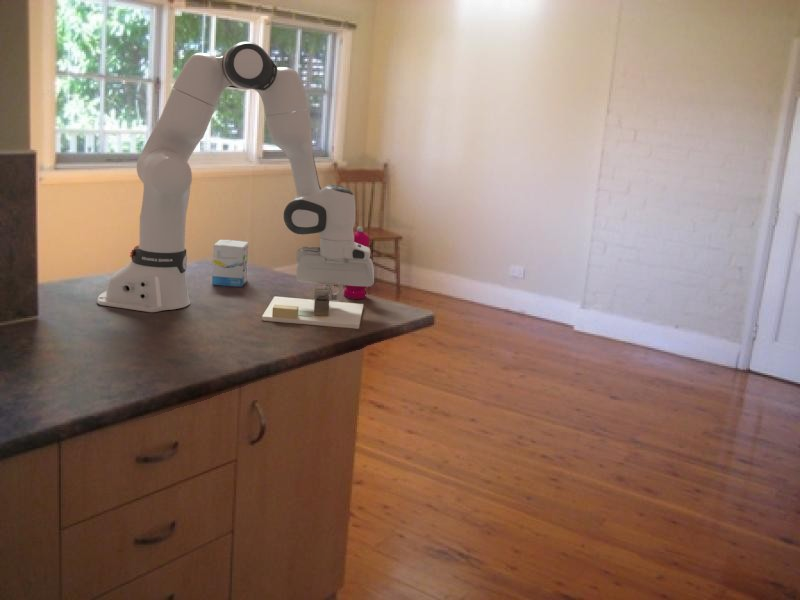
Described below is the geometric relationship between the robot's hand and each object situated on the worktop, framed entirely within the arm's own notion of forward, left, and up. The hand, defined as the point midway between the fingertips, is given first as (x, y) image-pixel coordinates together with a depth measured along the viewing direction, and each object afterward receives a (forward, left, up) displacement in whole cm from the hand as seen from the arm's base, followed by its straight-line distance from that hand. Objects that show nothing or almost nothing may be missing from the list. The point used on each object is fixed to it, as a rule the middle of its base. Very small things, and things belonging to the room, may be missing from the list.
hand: (334, 300), depth 230 cm
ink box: (-31, +20, -3) cm, 37 cm away
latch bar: (-3, -4, -1) cm, 5 cm away
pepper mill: (+5, +17, -3) cm, 17 cm away
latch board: (-4, -5, -3) cm, 7 cm away
